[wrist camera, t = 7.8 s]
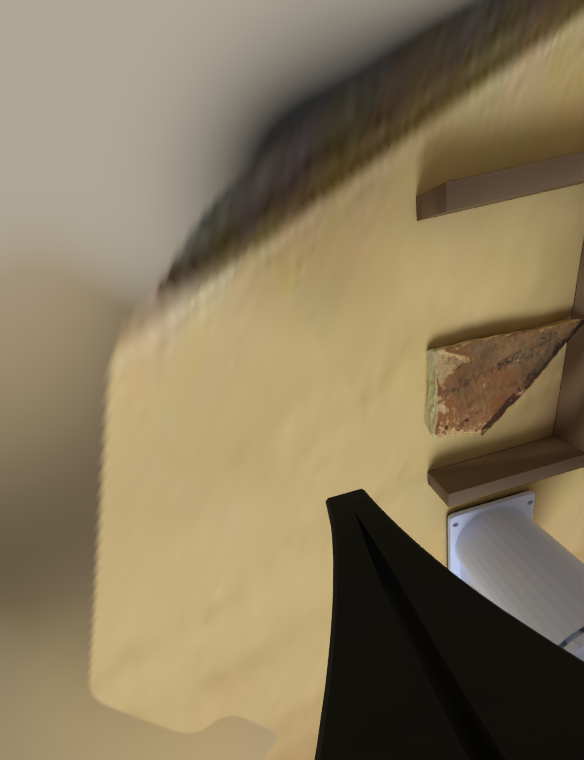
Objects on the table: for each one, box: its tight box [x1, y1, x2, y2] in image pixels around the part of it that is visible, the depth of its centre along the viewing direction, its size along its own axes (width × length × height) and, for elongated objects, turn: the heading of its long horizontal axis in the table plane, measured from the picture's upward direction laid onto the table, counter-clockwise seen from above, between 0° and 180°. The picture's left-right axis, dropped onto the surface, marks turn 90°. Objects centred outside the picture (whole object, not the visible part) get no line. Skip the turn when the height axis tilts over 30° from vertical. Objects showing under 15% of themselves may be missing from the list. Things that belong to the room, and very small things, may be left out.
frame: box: [416, 152, 584, 507], centre depth 18 cm, size 20×12×2 cm, turn 12°
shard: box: [424, 319, 584, 438], centre depth 20 cm, size 11×8×2 cm
